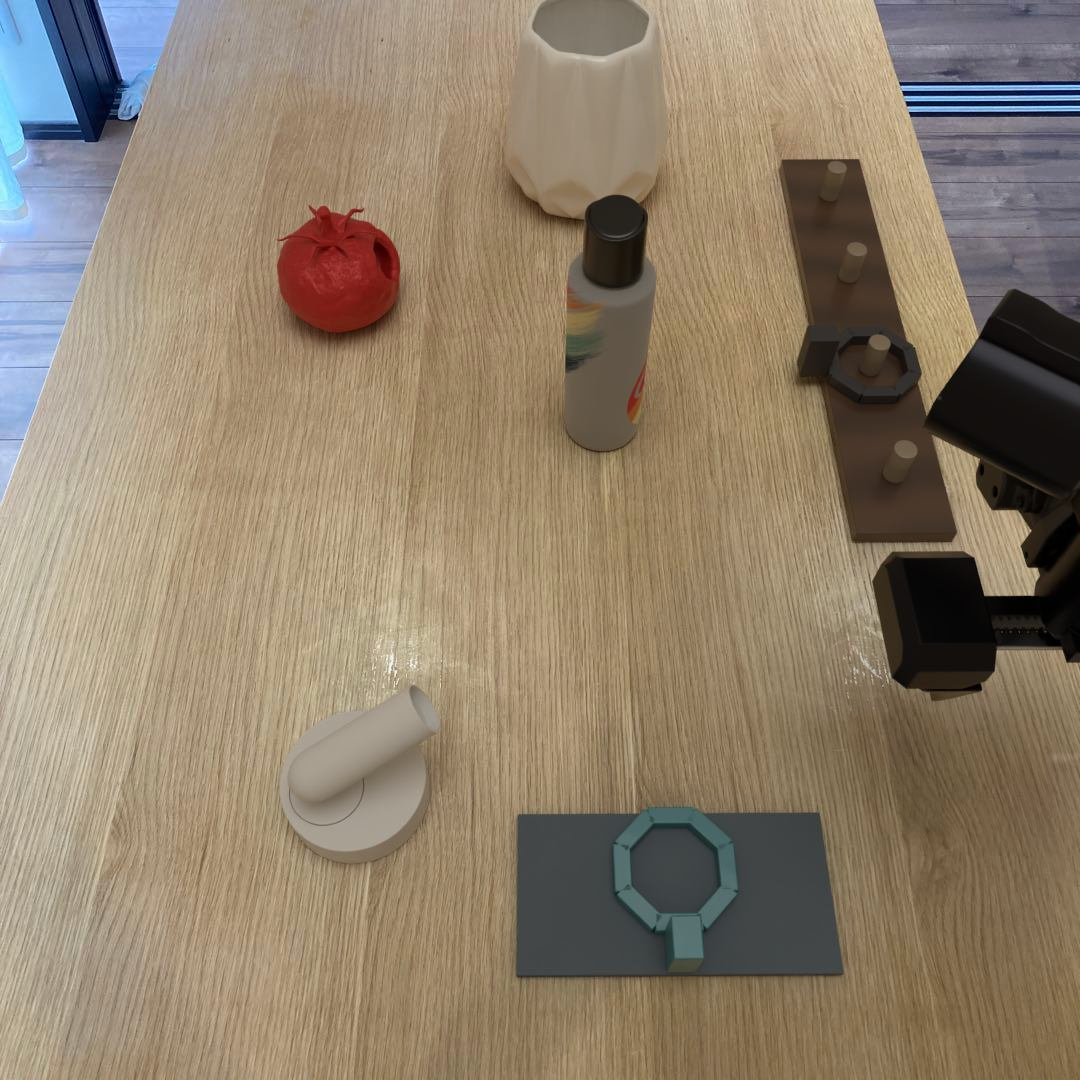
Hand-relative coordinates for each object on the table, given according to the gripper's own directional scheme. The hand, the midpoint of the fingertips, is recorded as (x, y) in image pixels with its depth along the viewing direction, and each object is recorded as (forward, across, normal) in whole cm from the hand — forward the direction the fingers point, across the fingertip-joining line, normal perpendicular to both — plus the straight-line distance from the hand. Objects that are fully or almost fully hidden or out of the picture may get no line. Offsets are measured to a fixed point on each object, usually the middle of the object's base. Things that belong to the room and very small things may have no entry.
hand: (1020, 691), depth 54 cm
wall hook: (+11, +36, +1) cm, 37 cm away
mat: (+11, +18, +8) cm, 22 cm away
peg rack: (+11, 0, -36) cm, 38 cm away
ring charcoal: (+10, 0, -31) cm, 33 cm away
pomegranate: (+11, +41, -40) cm, 58 cm away
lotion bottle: (+11, +21, -27) cm, 36 cm away
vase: (+11, +21, -55) cm, 60 cm away
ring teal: (+10, +18, +6) cm, 21 cm away
